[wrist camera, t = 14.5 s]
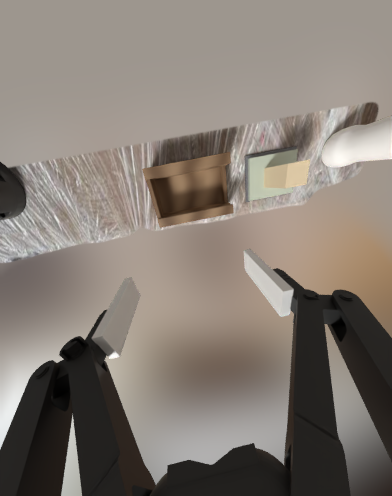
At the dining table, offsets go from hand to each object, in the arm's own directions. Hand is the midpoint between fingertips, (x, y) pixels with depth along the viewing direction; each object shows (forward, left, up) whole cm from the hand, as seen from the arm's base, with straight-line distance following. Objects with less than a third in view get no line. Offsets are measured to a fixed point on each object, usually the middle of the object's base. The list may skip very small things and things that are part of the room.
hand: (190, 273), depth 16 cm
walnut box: (-1, +8, -26) cm, 27 cm away
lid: (+18, +18, -26) cm, 36 cm away
